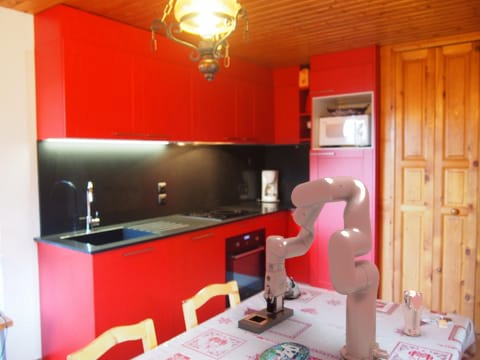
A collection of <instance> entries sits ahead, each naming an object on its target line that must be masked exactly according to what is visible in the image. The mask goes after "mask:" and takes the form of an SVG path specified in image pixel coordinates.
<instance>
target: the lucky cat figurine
mask: <svg viewBox="0 0 480 360" xmlns="http://www.w3.org/2000/svg"><path fill="white" fill-rule="evenodd" d="M286 278H287V291H286V292H285V294H284V296H285V297H284V298H288V299H289V298H290V299H291V298H292V299H297V298H298V297H299V296H300V297H301V296H302V295H303V293H302V292H301V290H300V289H299V286H298V284H297V282H296V281H294V278H293V276H290V277H289V276H288V275H286ZM300 297H299V298H300ZM299 298H298V299H299Z"/></svg>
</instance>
